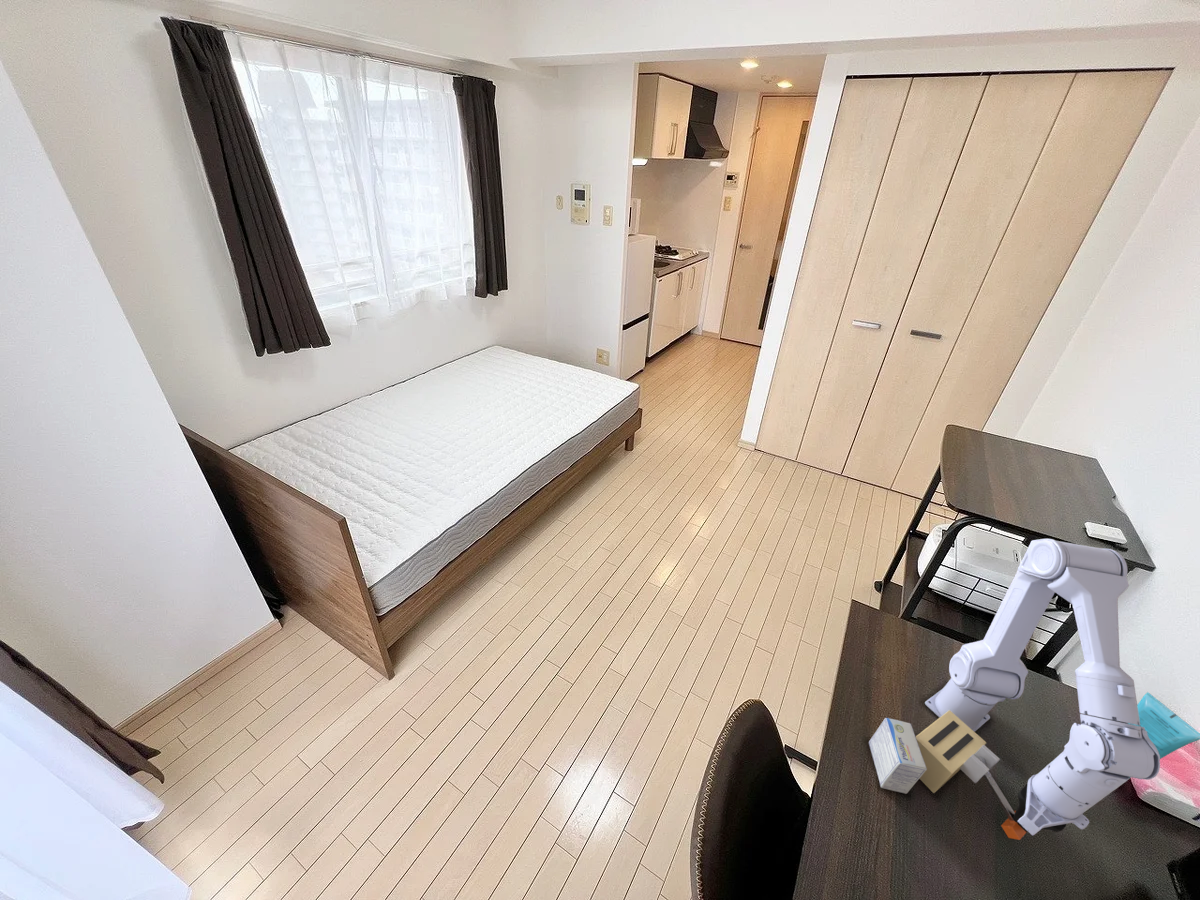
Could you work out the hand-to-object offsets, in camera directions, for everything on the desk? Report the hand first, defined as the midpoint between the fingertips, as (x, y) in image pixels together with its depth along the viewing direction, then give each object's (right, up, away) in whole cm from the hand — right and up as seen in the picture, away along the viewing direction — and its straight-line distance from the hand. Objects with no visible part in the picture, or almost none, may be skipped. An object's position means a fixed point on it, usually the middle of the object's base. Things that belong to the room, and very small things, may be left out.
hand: (1021, 823), depth 76 cm
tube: (+25, 0, +12) cm, 28 cm away
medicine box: (-16, +2, +10) cm, 19 cm away
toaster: (-6, +2, +10) cm, 12 cm away
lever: (-2, +2, +3) cm, 4 cm away
